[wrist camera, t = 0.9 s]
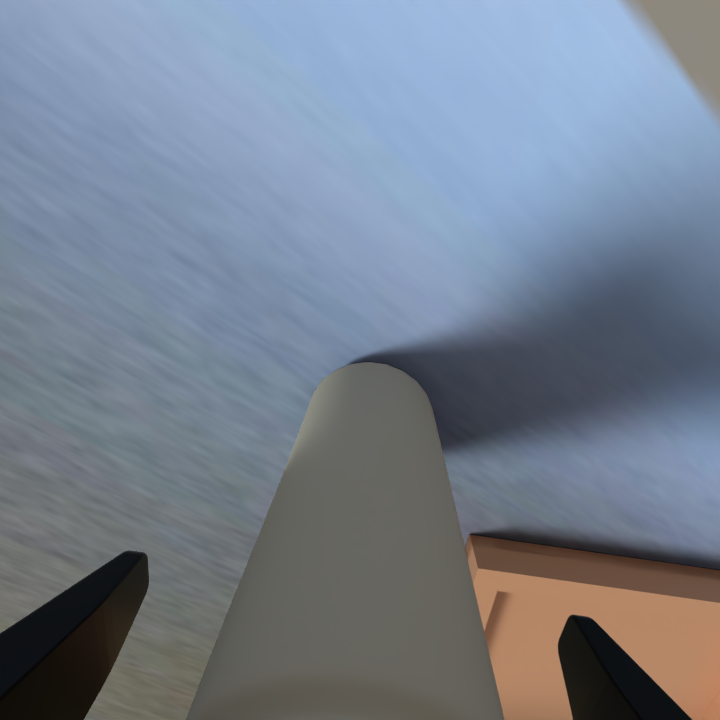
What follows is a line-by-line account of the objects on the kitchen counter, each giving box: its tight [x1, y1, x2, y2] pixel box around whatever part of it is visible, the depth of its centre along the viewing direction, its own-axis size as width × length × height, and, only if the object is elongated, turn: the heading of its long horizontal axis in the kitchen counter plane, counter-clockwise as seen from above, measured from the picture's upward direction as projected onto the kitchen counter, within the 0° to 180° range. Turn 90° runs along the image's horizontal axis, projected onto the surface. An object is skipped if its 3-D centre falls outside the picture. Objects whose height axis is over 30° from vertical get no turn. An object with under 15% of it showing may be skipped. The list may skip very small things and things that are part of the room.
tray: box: [465, 535, 720, 720], centre depth 20 cm, size 14×14×2 cm
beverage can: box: [186, 362, 505, 720], centre depth 11 cm, size 5×5×12 cm
